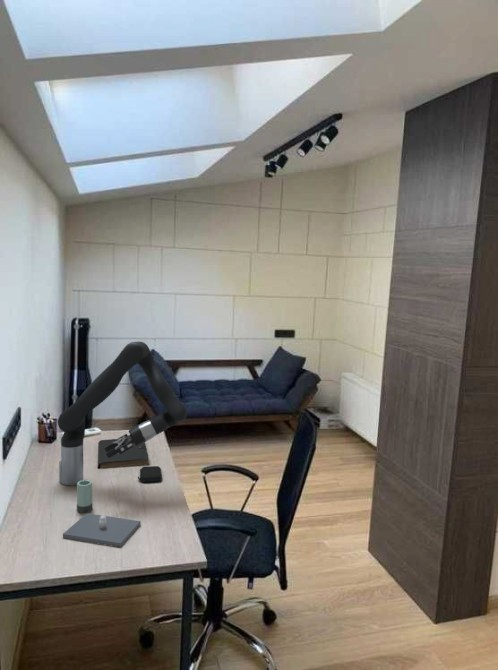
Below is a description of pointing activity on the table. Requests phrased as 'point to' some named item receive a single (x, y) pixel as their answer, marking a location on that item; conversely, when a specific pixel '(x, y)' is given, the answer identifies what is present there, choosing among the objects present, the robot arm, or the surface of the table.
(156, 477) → the carrying case or bag
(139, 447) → the dark grey book
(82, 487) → the sleeve
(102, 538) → the pin board
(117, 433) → the table surface
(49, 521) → the table surface
